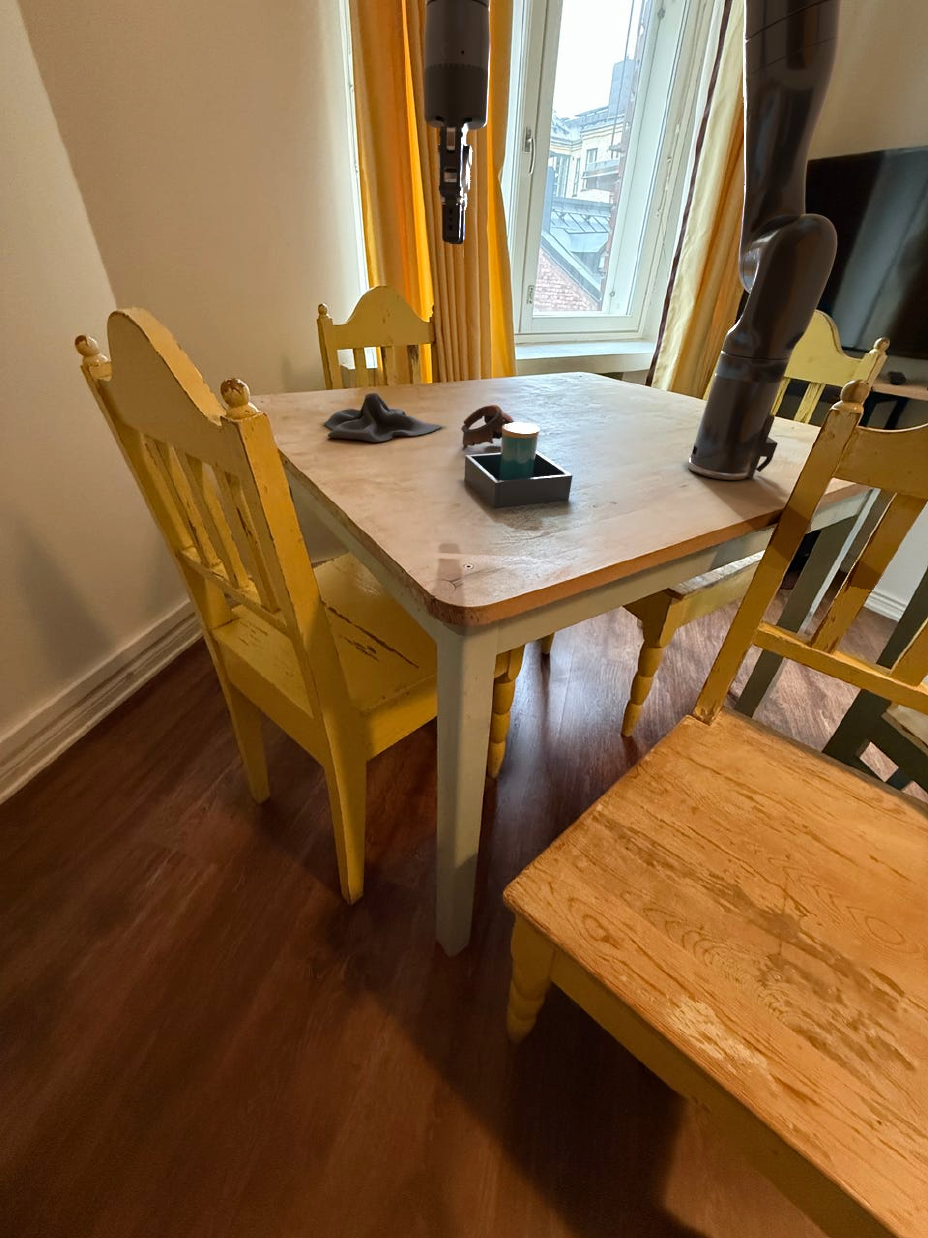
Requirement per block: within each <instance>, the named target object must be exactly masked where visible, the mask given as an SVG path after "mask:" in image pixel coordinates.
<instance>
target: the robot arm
mask: <svg viewBox="0 0 928 1238" xmlns="http://www.w3.org/2000/svg"><path fill="white" fill-rule="evenodd" d="M842 3H843V1H842V0H744V22H743V98H744V99H743V103H744V104H743V105H744V108H743V109H744V110H743V111H744V113H743V114H744V118H743V119H744V123H743V125H744V127H743V128H744V129H743V130H744V132H743V133H744V135H743V136H744V184H745V185H744V197H743V198H744V199H743V209H742V219H741V221H742V222H741V231H740V239H739V240H740V241H739V250H738V251H739V252H738V275H739V281H740V282H741V285H742V287H743V288H744V290H745V291H746V292H747V293H749V295H748V298H747V300H746V301H747V302H746V304H745V307H744V310H743V312H742V315H741V316H740V319H739V320H738V321H737V323H736V324H735V325H734V326H733V327H731V328H730V329H729V330H728V331H727V333H726V335H725V337H724V340H723V343H722V344H723V345H722V347H721V351H720V354H719V358H718V361H717V366H716V368H715V372H714V375H713V378H712V381H711V385H710V389H709V392H708V396H707V400H706V402H705V407H704V410H703V413H702V416H701V420H700V423H699V426H698V430H697V433H696V437H695V440H694V443H693V444H692V445H691V450H690V458H689V459H688V462H687V468H688V469H689V470H690V471H692V472H693V473H696V474H698V475H700V476H704V477H706V478H711V479H716V480H725V481H739V480H745V479H753V478H754V476H755V473H756V471H757V472H758V473H762V471H763V470H764V469H765V468H766V467H768V466H769V465H770V463H771V462H772V460H773V458H774V455H775V452H776V450H777V446H778V442H777V441H775V440H774V439H773V438H771V437H769V435H770V433H771V431H772V428H773V425H774V422H775V419H776V418H775V417H776V416H775V414H773V413H772V410H773V408H774V405H775V401H776V399H777V396H778V394H779V391H780V387H781V385H782V382H783V380H784V377H785V374H786V371H787V369H788V366H789V362H790V360H791V358H792V355H793V352H794V349H795V348H796V346H797V344H798V343H799V342H800V341H801V339H802V338H803V336H804V335H805V333H806V332H807V330H808V328H809V326H810V323H811V322H812V319H813V317H814V315H815V311H816V309H817V307H818V304H819V302H820V300H821V297H822V295H823V293H824V291H825V288H826V285H827V282H828V280H829V277H830V275H831V272H832V269H833V266H834V262H835V259H836V255H837V250H838V249H837V248H838V234H837V230H836V228H835V226H834V224H833V222H831V220H830V219H828V218H827V217H825V216H823V215H820V214H817V213H806V183H807V182H806V181H807V168H808V167H807V166H808V161H809V155H810V151H811V147H812V143H813V141H814V137H815V133H816V130H817V127H818V124H819V121H820V118H821V115H822V112H823V109H824V106H825V104H826V99H827V97H828V95H829V91H830V87H831V84H832V80H833V76H834V72H835V67H836V63H837V57H838V50H839V41H840V30H841V27H840V26H841V15H842V14H841V13H842ZM490 8H491V0H425V19H424V29H423V30H424V31H423V112H424V113H423V117H424V121H425V124H426V125H428V126H430V127H432V128H435V129H439V131H438V137H439V143H438V144H437V162H438V171H437V172H438V173H437V174H438V175H437V176H438V177H437V178H438V191H439V195H440V196H439V200H440V202H441V203H440V204H441V205H442V206H441V207H442V208H441V209H442V211H441V225H442V226H441V227H442V228H441V239H442V241H443V242H444V243H448V244H450V245H463V244H464V242H465V216H466V215H465V214H466V213H465V212H466V208H467V206H468V202H469V201H468V199H469V198H468V193H469V191H470V183H471V182H470V181H471V180H470V177H471V175H470V173H471V171H470V169H471V168H472V159H473V158H472V157H473V155H472V154H473V153H472V152H473V149H472V145H468V144H467V133H468V131H470V130H471V131H477V130H481V129H482V128H484V127H485V126H486V125H487V123H488V109H489V108H488V107H489V84H490V64H491V63H490V60H491V28H490V27H491V25H490V10H491V9H490ZM762 457H763V458H765V459H764V461H762V463H760V461H761V458H762ZM759 463H760V464H759ZM758 464H759V465H758Z"/></svg>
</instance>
